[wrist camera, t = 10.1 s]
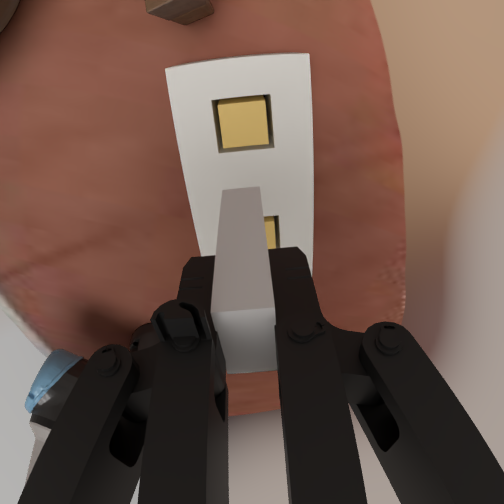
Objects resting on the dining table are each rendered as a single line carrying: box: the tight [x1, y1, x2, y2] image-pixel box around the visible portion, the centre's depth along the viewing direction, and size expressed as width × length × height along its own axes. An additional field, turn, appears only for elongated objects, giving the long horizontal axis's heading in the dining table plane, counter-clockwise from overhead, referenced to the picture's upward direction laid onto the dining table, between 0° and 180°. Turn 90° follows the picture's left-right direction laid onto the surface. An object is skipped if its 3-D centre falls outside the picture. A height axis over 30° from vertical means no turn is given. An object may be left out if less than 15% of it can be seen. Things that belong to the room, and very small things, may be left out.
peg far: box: [264, 216, 276, 249], centre depth 36 cm, size 4×4×8 cm
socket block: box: [165, 52, 314, 276], centre depth 33 cm, size 24×12×8 cm, turn 5°
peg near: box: [218, 95, 269, 148], centre depth 29 cm, size 4×4×8 cm
